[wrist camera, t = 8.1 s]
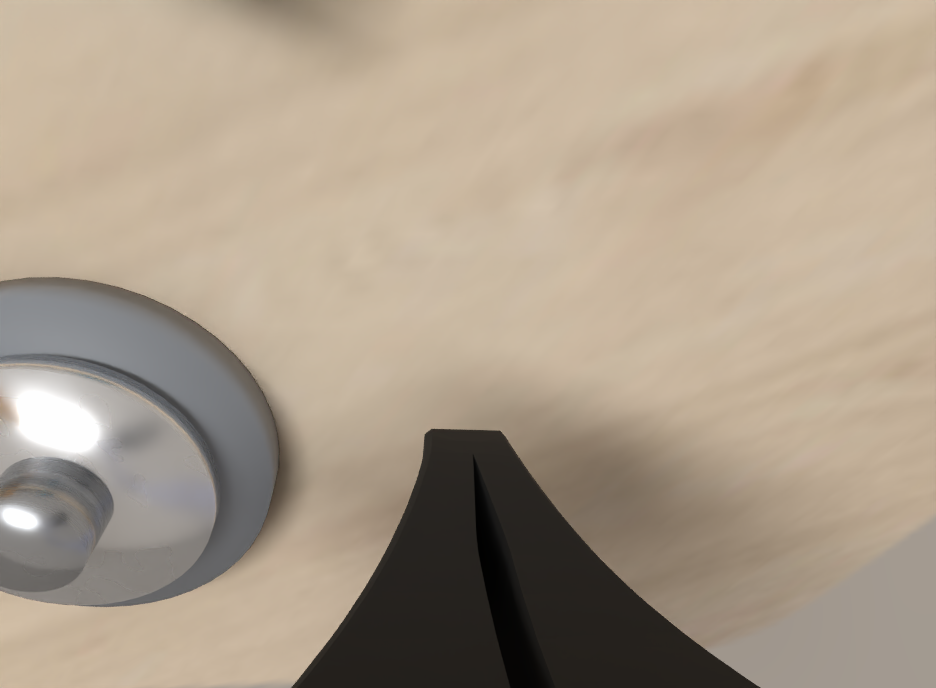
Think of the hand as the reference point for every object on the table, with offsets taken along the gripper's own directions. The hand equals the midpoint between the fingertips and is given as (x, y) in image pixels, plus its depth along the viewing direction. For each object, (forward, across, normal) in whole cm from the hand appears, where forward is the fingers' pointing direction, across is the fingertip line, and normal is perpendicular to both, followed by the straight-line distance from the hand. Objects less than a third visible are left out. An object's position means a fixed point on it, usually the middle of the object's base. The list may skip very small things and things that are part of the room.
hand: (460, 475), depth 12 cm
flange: (+7, +11, +6) cm, 15 cm away
